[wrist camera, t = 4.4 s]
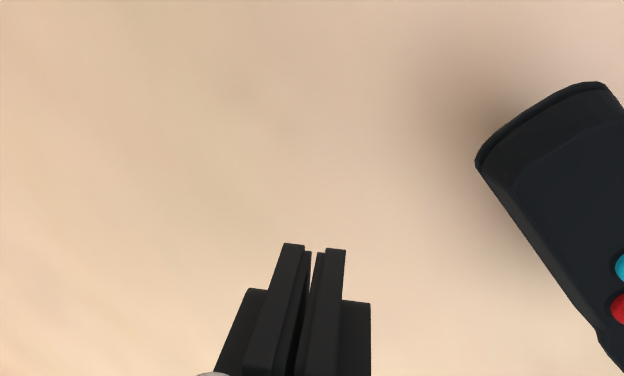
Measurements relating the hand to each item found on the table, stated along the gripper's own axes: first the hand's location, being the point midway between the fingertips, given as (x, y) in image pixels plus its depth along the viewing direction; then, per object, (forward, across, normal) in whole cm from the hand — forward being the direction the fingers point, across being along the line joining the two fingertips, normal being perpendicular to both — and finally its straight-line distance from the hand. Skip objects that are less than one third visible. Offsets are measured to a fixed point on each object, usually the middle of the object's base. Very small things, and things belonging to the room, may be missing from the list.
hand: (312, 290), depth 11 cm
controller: (+10, -10, 0) cm, 14 cm away
